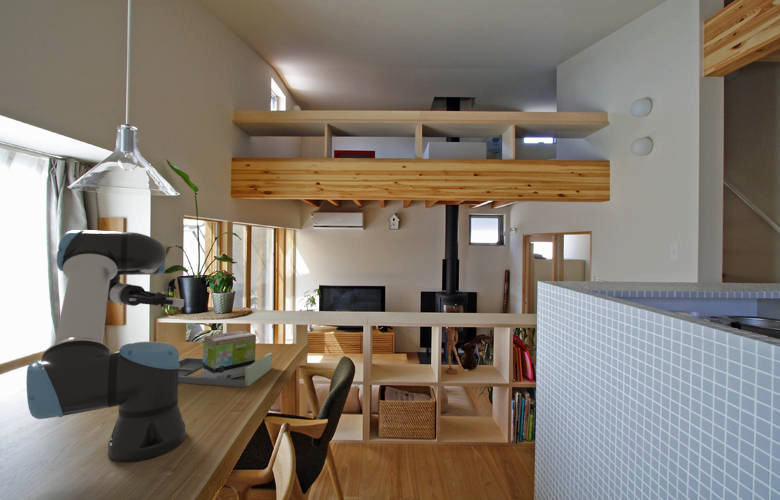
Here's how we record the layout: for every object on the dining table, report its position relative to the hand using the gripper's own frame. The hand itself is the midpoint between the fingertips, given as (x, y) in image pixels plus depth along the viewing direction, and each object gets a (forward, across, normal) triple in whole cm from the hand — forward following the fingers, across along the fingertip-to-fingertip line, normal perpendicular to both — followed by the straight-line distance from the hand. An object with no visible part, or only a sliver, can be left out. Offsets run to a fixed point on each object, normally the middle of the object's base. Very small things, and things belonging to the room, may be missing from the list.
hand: (182, 303), depth 129 cm
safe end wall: (+31, -5, -23) cm, 39 cm away
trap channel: (+13, -4, -25) cm, 28 cm away
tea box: (+19, -4, -24) cm, 31 cm away
